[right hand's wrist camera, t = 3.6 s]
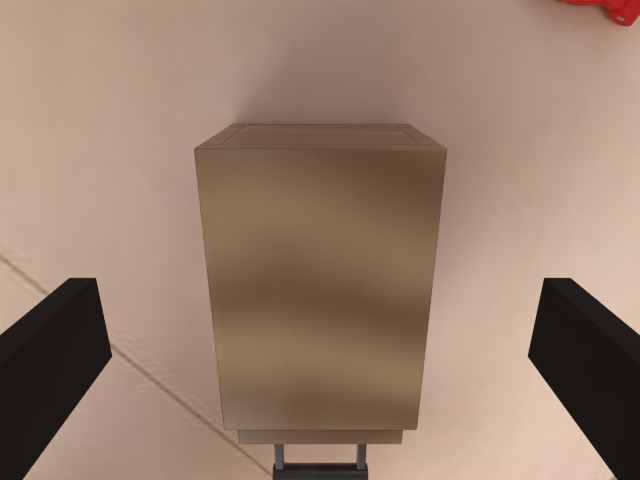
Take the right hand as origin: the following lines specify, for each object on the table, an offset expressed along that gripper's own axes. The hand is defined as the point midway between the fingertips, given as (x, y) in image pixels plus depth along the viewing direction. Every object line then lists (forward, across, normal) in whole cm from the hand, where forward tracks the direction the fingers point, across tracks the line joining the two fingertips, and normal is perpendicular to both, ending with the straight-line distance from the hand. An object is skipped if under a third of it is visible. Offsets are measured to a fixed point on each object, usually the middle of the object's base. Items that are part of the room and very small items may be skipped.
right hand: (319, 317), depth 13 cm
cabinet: (+18, 0, -5) cm, 18 cm away
